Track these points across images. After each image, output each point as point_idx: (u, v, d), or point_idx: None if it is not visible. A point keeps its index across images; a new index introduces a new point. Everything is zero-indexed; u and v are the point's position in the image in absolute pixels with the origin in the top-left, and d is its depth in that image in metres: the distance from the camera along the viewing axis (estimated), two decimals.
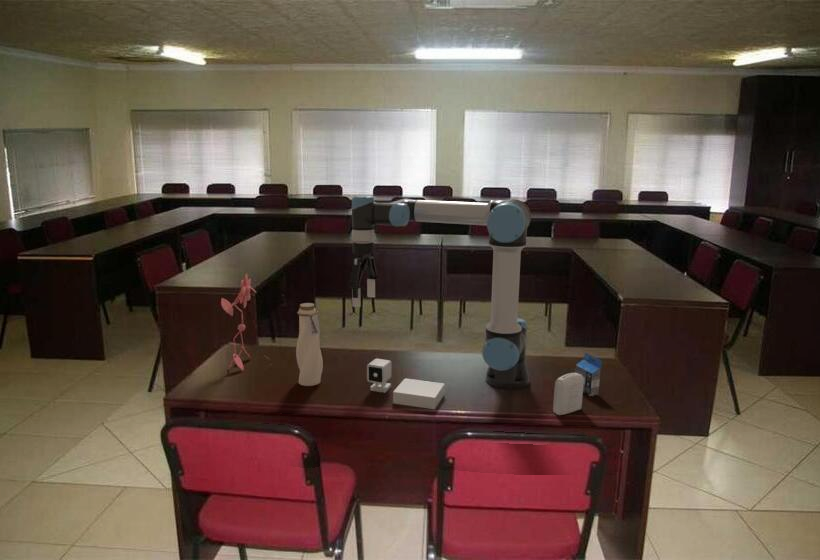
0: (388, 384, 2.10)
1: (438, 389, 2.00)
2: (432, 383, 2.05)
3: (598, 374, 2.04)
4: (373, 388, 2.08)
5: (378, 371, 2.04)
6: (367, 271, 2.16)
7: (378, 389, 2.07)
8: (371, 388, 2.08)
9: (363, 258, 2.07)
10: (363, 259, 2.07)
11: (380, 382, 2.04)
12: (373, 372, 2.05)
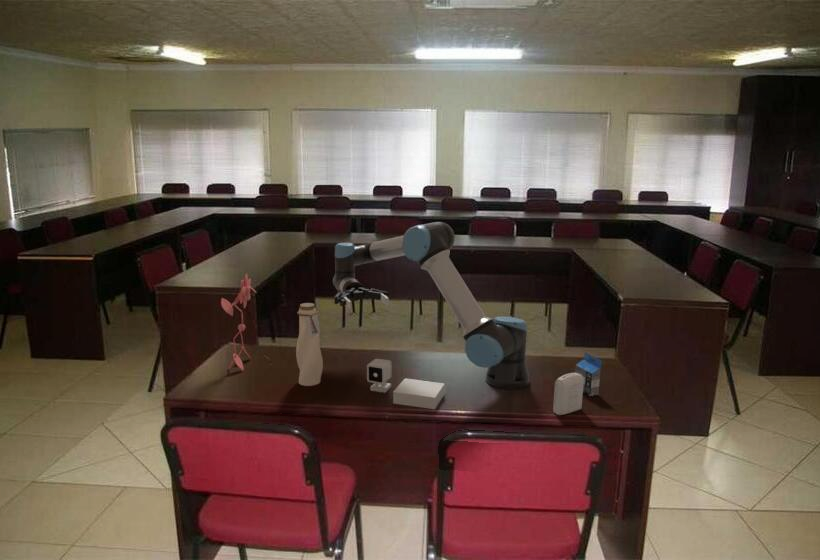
0: (388, 384, 2.10)
1: (438, 389, 2.00)
2: (432, 383, 2.05)
3: (598, 374, 2.04)
4: (373, 388, 2.08)
5: (378, 371, 2.04)
6: (373, 297, 2.21)
7: (378, 389, 2.07)
8: (371, 388, 2.08)
9: (348, 290, 2.24)
10: (348, 290, 2.24)
11: (380, 382, 2.04)
12: (373, 372, 2.05)
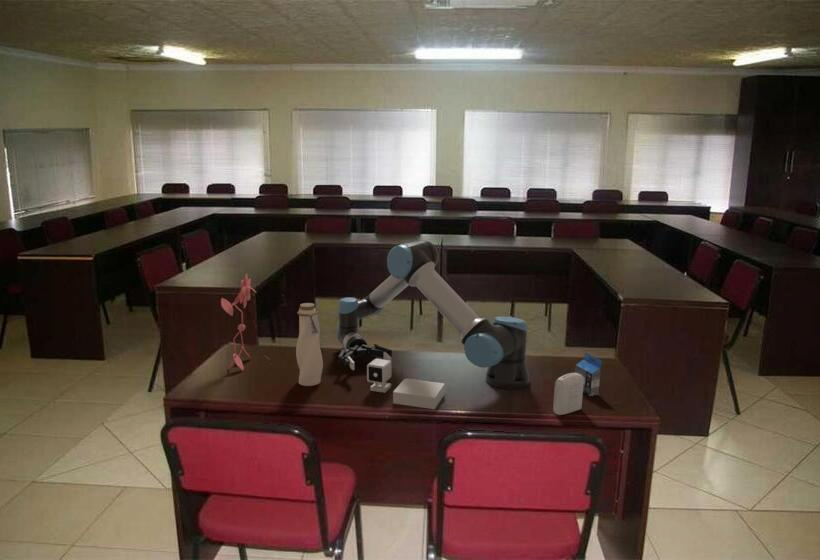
0: (388, 384, 2.10)
1: (438, 389, 2.00)
2: (432, 383, 2.05)
3: (598, 374, 2.04)
4: (373, 388, 2.08)
5: (378, 371, 2.04)
6: (376, 354, 2.26)
7: (378, 389, 2.07)
8: (371, 388, 2.08)
9: (352, 347, 2.29)
10: (352, 347, 2.29)
11: (380, 382, 2.04)
12: (373, 372, 2.05)
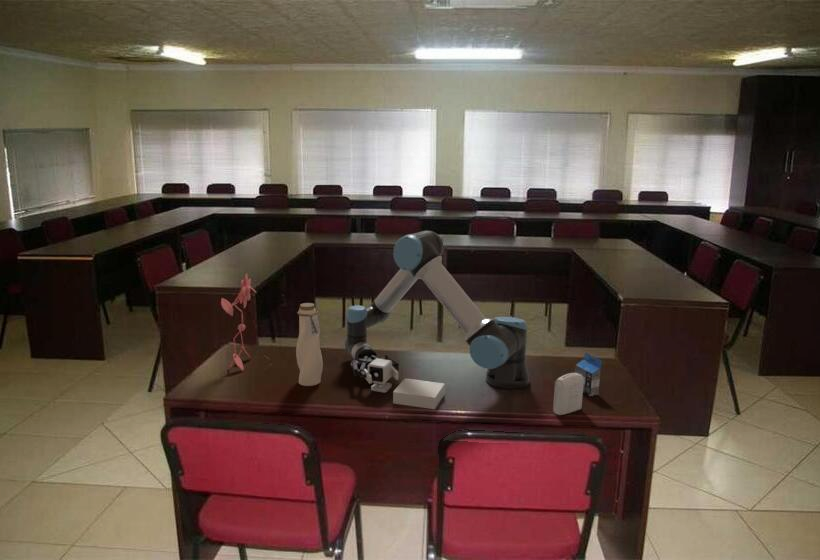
0: (389, 384, 2.11)
1: (438, 389, 2.00)
2: (432, 383, 2.05)
3: (598, 374, 2.04)
4: (374, 388, 2.08)
5: (379, 371, 2.04)
6: None
7: (379, 389, 2.07)
8: (372, 388, 2.08)
9: (361, 358, 2.18)
10: (361, 358, 2.18)
11: (381, 382, 2.05)
12: (374, 372, 2.05)
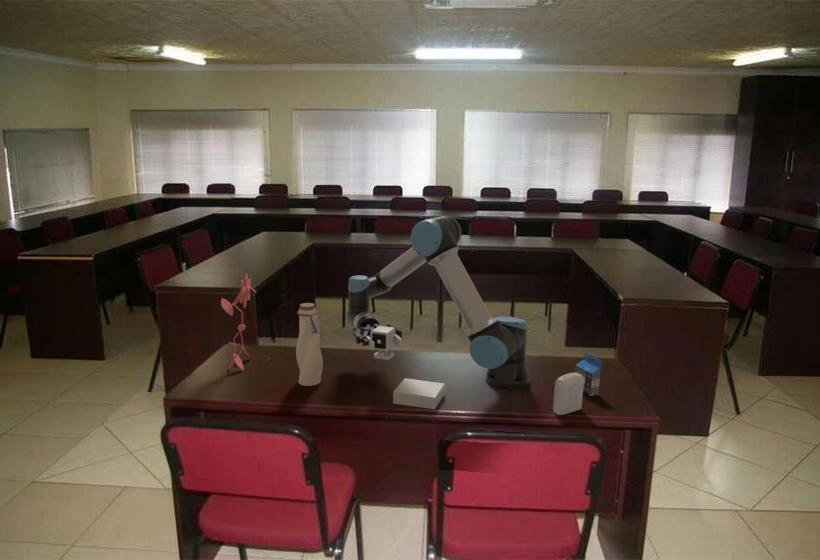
0: (391, 352, 2.07)
1: (438, 389, 2.00)
2: (432, 383, 2.05)
3: (598, 374, 2.04)
4: (376, 355, 2.05)
5: (381, 337, 2.01)
6: None
7: (382, 356, 2.04)
8: (374, 356, 2.05)
9: (363, 327, 2.15)
10: (363, 327, 2.15)
11: (384, 349, 2.01)
12: (377, 338, 2.02)
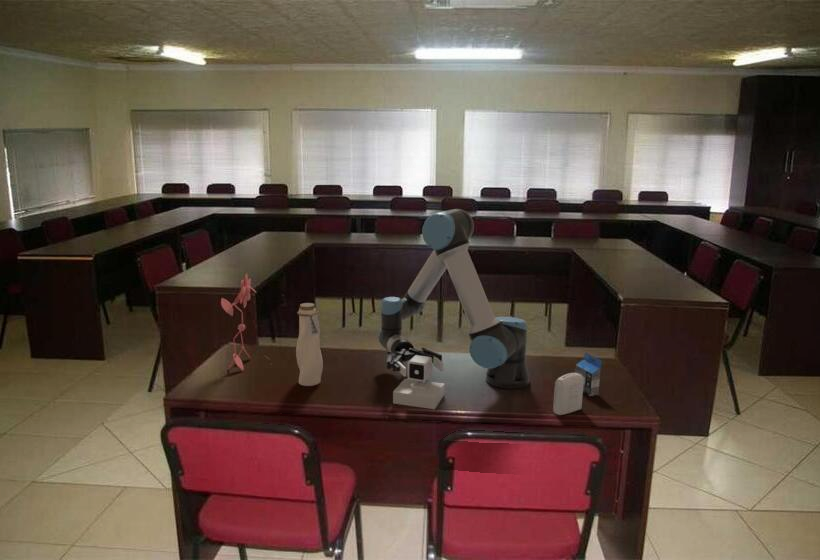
0: (428, 382, 2.02)
1: (438, 389, 2.00)
2: (432, 383, 2.05)
3: (598, 374, 2.04)
4: (413, 386, 2.00)
5: (419, 368, 1.96)
6: None
7: (419, 387, 1.99)
8: (411, 386, 2.00)
9: (398, 351, 2.10)
10: (398, 351, 2.09)
11: (421, 380, 1.96)
12: (414, 369, 1.97)
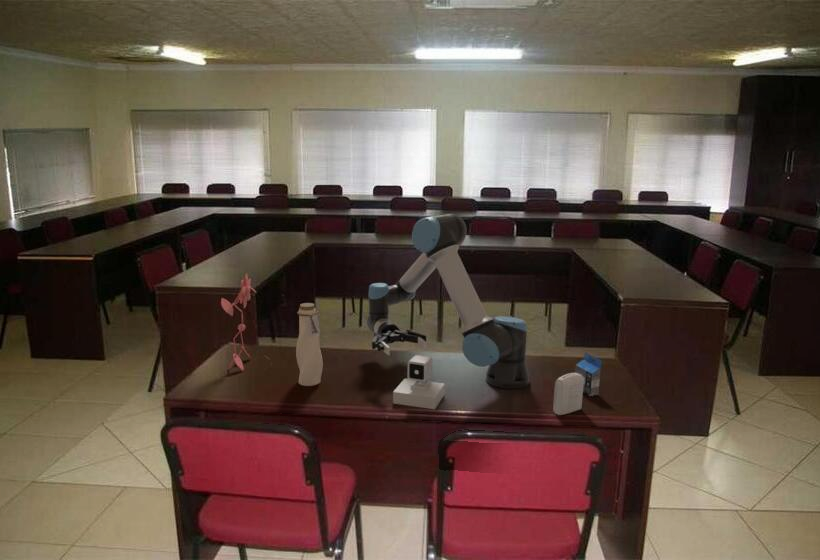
0: (428, 382, 2.02)
1: (438, 389, 2.00)
2: (432, 383, 2.05)
3: (598, 374, 2.04)
4: (413, 386, 2.00)
5: (419, 368, 1.96)
6: (410, 340, 2.19)
7: (419, 387, 1.99)
8: (411, 386, 2.00)
9: (384, 333, 2.22)
10: (384, 333, 2.21)
11: (421, 380, 1.96)
12: (414, 369, 1.97)
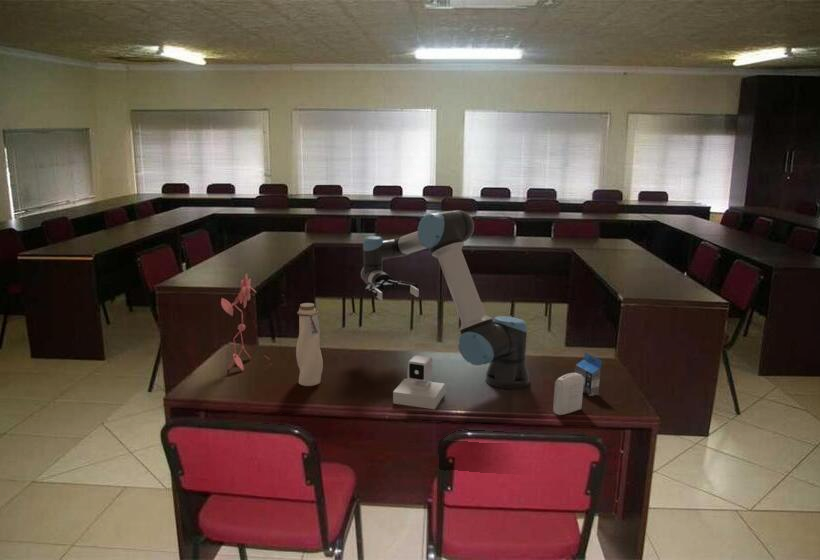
0: (428, 382, 2.02)
1: (438, 389, 2.00)
2: (432, 383, 2.05)
3: (598, 374, 2.04)
4: (413, 386, 2.00)
5: (419, 368, 1.96)
6: (402, 288, 2.26)
7: (419, 387, 1.99)
8: (411, 386, 2.00)
9: (378, 282, 2.28)
10: (378, 282, 2.28)
11: (421, 380, 1.96)
12: (414, 369, 1.97)
